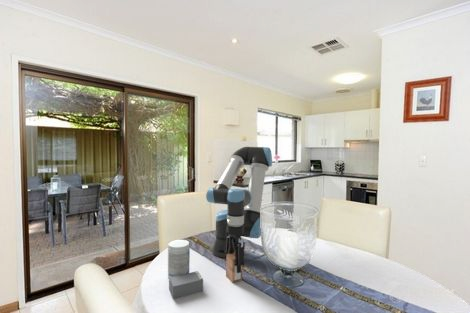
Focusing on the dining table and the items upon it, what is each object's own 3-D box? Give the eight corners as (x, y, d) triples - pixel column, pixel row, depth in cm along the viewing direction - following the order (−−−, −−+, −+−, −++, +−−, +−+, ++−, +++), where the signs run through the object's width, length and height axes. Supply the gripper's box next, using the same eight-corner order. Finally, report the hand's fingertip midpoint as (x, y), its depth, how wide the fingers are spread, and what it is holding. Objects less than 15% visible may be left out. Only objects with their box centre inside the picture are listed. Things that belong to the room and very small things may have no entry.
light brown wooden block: (235, 273, 110) (236, 252, 109) (242, 280, 104) (242, 257, 104) (225, 275, 107) (226, 254, 107) (231, 282, 102) (232, 259, 102)
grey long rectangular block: (197, 282, 102) (197, 270, 101) (202, 291, 95) (203, 278, 95) (169, 289, 96) (169, 276, 96) (172, 299, 90) (173, 285, 90)
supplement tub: (192, 277, 106) (193, 244, 105) (171, 283, 100) (172, 249, 100) (184, 268, 114) (185, 237, 113) (164, 273, 108) (165, 241, 108)
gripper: (219, 219, 112) (217, 267, 113) (238, 232, 95) (236, 288, 96) (233, 217, 115) (231, 264, 116) (253, 229, 99) (252, 284, 99)
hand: (233, 275), depth 106 cm, fingers closed on light brown wooden block, 6 cm apart
